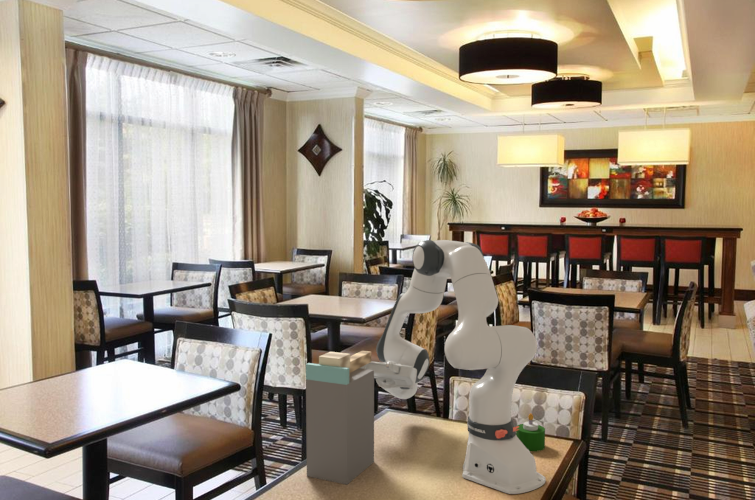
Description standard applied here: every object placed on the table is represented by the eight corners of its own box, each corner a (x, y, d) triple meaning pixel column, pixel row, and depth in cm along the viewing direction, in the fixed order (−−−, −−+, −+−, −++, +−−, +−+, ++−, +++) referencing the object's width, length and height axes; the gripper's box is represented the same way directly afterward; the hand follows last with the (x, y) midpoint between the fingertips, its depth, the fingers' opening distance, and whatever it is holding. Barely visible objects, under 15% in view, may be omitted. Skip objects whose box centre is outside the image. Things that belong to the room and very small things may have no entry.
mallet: (357, 360, 189) (357, 340, 189) (376, 362, 187) (376, 341, 186) (319, 379, 170) (318, 356, 169) (339, 381, 167) (339, 358, 167)
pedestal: (336, 454, 186) (335, 351, 184) (374, 461, 181) (373, 355, 178) (306, 476, 171) (305, 364, 169) (347, 484, 166) (346, 369, 164)
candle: (510, 443, 194) (510, 410, 194) (533, 439, 198) (533, 407, 197) (527, 453, 187) (527, 419, 186) (550, 449, 190) (551, 415, 189)
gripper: (362, 362, 210) (345, 349, 198) (422, 370, 201) (407, 356, 190) (358, 381, 207) (340, 369, 196) (418, 390, 199) (402, 377, 187)
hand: (373, 363), depth 193 cm, fingers open, 8 cm apart
